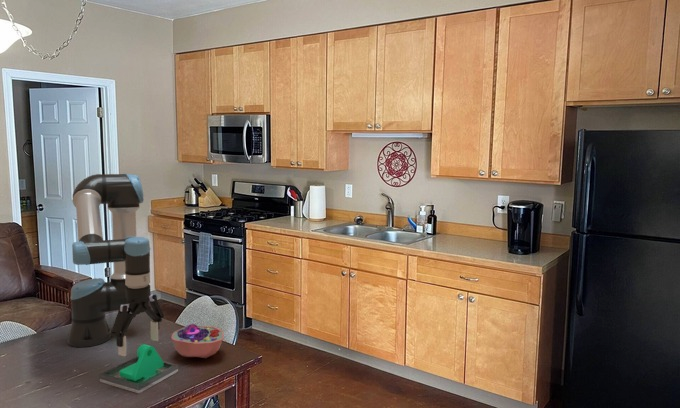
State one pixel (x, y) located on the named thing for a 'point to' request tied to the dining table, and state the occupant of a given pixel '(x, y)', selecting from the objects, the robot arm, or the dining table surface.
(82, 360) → the dining table surface
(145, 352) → the camera mount
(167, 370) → the plate
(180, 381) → the dining table surface
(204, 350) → the cell model
